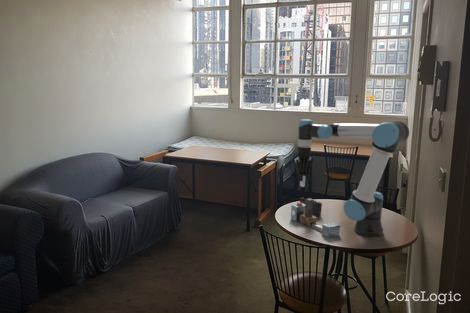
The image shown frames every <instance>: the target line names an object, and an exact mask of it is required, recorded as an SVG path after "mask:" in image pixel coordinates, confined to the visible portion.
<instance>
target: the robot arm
mask: <svg viewBox="0 0 470 313" xmlns="http://www.w3.org/2000/svg"><path fill="white" fill-rule="evenodd" d="M409 136H410V128H409V126H408V125H407V124H406V123H405V122H403V121H401V120H394V121H384V122H381V123H339V122H333V123H332V122H331V123H323V124H318V123H317V124H316V123H314V122H313V120H312V119H307V118H306V119H304V118H303V119H300V120H299V122H298V138H297V157H296V158H294V159H293V161H294V164H295V170H296V175H298V176H299V180H298V181H299V186H300V187H302V188H304V187H305V186H306V181H307V177H308V175H310V172H311V169H312V168H311V167H312V164H313V161H314V157H312V156H311V152H312V138H317V139H321V140H327V139H328V140H329V139H330V138H333V137H335V138H336V137H340V138H341V137H343V138H360V139H361V138H363V139H372V142H371V146H372V151H371V152H370V156H369V158H368V161H367V164H366V166H365V168H364V170H363V171H364V172H363V174H362V176H361V179H360V181H359V184H358V186H357V189H355V190H353V191H352V192H351V193H352V194H351V195H350V198H349V199H347V201H345V202H344V204H343V211H344V213H345V216H346V217H347V218H348V219H349V220H351V221H353V222H355V225H354V229H353V230H354V232H355V233H357V234H359V235H362V236H364V237H371V238H375V237H380V236H383V234H384V228H383V224H382V212H383V203H384V195H383V194H382V193H381V192H378V191H377V188H378V186H379V183H380V181H381V179H382V176H383V173H384V172H385V171H384V170H385V168H386V166H387V163H388V162H389V159H390V158H391V155H393V154H395V153H396V151H397V148H398V146H399V145H400V144H403V143H405V142H406V141H407V140H408V138H409Z"/></svg>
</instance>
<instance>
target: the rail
mask: <svg viewBox="0 0 470 313" xmlns="http://www.w3.org/2000/svg"><path fill="white" fill-rule="evenodd" d="M301 214H305V204H303V203H302V206H297V203H296V204H291V208H290V220H291V221H292V222H295V223H298V222H299V223H301V219H300V215H301ZM310 227H311V228H312V229H315V230H317V231H319V232H321V235H322V236H323V237H325V238H326V239H331V238H335V237H339V236H340V233H341V225H340V224H339V223H337V222H334V221H333V222H327V223H322V225H320V224H318V223H317V222H316V223H314V222H313V223H311V224H310ZM310 227H309V228H310Z"/></svg>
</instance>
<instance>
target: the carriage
mask: <svg viewBox="0 0 470 313" xmlns="http://www.w3.org/2000/svg"><path fill="white" fill-rule="evenodd" d="M305 200H306V205H305V214H301V215H300V219H301V222H300V223H301V224H303V225H306V226H307V227H309V228H310V224H311V223H313V222H314V223H316V224H317V222H318V217H315V216H313V215H312V214H313V200H314V199H313V198H312V199H311V197H309V198H305Z"/></svg>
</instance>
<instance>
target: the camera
mask: <svg viewBox="0 0 470 313" xmlns="http://www.w3.org/2000/svg"><path fill="white" fill-rule="evenodd" d="M310 198H311V197H310ZM311 199H313V198H311ZM299 202H301V203H303V204H305V205H306V198H304V197H302V196H301V197H300V198H299ZM322 207H323V203H322V202H321V201H317V200H314V199H313V214H312V215H313V216H315V217H317V218H320V217H321V216H322Z"/></svg>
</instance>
